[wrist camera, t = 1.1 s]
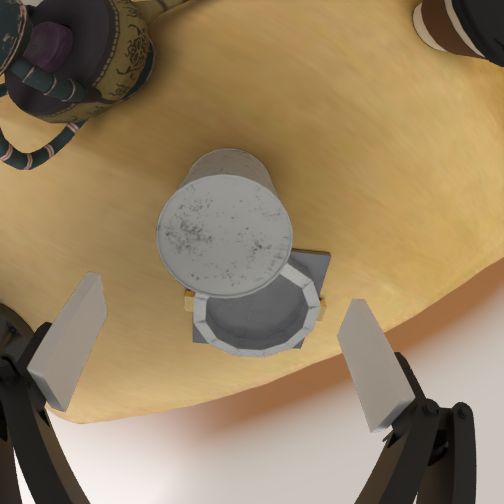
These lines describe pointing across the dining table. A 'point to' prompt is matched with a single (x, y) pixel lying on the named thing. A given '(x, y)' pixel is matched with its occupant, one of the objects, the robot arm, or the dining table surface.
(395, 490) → the robot arm
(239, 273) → the grey speckled cylinder
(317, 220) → the dining table surface
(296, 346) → the socket
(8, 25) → the teapot
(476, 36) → the coffee cup
